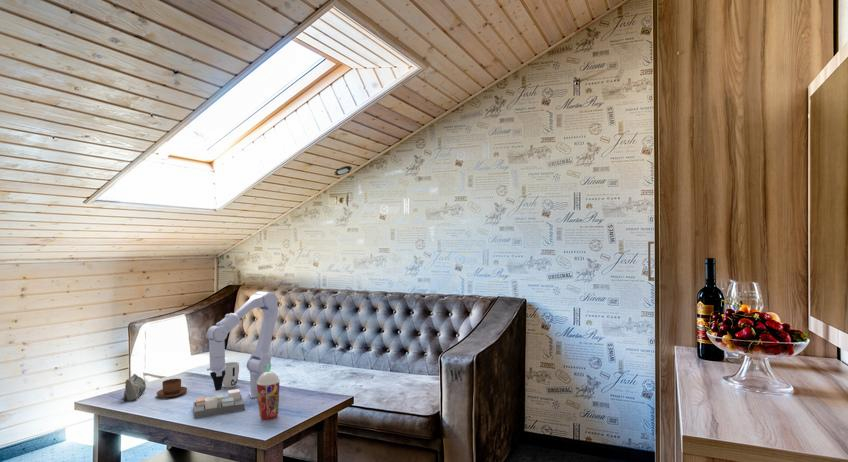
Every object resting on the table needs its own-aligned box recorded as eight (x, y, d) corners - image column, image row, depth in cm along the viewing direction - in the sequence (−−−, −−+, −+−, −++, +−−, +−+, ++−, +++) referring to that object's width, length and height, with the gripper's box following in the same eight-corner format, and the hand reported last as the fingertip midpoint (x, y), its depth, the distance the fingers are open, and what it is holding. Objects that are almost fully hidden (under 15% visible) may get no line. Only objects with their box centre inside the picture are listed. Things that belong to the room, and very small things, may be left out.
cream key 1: (216, 405, 200) (216, 396, 200) (217, 408, 197) (217, 399, 197) (205, 407, 198) (204, 398, 199) (205, 410, 195) (205, 401, 195)
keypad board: (241, 400, 211) (240, 394, 211) (244, 409, 200) (244, 403, 200) (193, 408, 203) (193, 402, 203) (194, 418, 192) (194, 411, 192)
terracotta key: (207, 405, 204) (207, 396, 204) (208, 409, 201) (207, 399, 201) (196, 407, 203) (195, 398, 203) (196, 410, 199) (196, 401, 199)
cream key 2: (239, 397, 210) (238, 388, 210) (240, 400, 206) (240, 391, 206) (228, 399, 208) (228, 390, 208) (229, 402, 204) (229, 393, 204)
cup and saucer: (157, 393, 225) (157, 379, 225) (187, 389, 230) (187, 375, 230) (155, 401, 214) (155, 386, 214) (187, 396, 219) (187, 382, 219)
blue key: (232, 406, 203) (232, 397, 203) (234, 409, 199) (233, 400, 199) (221, 408, 201) (221, 399, 201) (222, 411, 197) (222, 402, 197)
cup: (233, 389, 228) (232, 366, 228) (216, 388, 229) (216, 366, 229) (243, 383, 236) (242, 362, 236) (227, 383, 237) (226, 361, 237)
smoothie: (280, 420, 188) (279, 366, 188) (257, 423, 185) (255, 368, 186) (280, 412, 196) (279, 360, 196) (257, 415, 193) (256, 362, 194)
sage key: (223, 403, 207) (223, 394, 207) (224, 406, 203) (224, 397, 203) (212, 405, 205) (212, 396, 205) (213, 408, 201) (212, 399, 201)
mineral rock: (142, 390, 229) (141, 368, 229) (158, 393, 225) (158, 370, 225) (114, 399, 217) (113, 375, 217) (131, 402, 213) (130, 378, 213)
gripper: (205, 353, 209) (206, 386, 209) (207, 361, 196) (208, 396, 196) (223, 351, 212) (224, 384, 212) (227, 358, 199) (228, 393, 199)
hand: (218, 389), depth 204 cm, fingers closed
